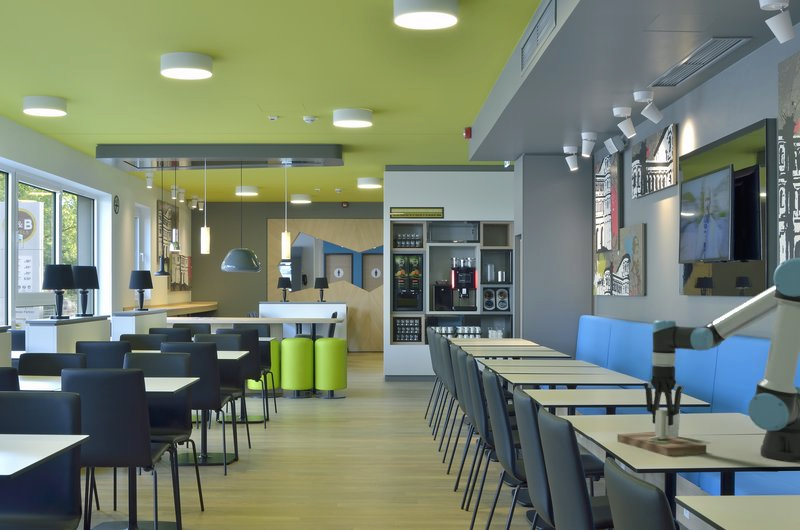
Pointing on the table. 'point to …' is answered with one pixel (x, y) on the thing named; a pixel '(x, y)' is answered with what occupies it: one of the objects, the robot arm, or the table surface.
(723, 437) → the table surface
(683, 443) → the wooden cutting board
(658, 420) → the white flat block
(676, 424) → the white cup
